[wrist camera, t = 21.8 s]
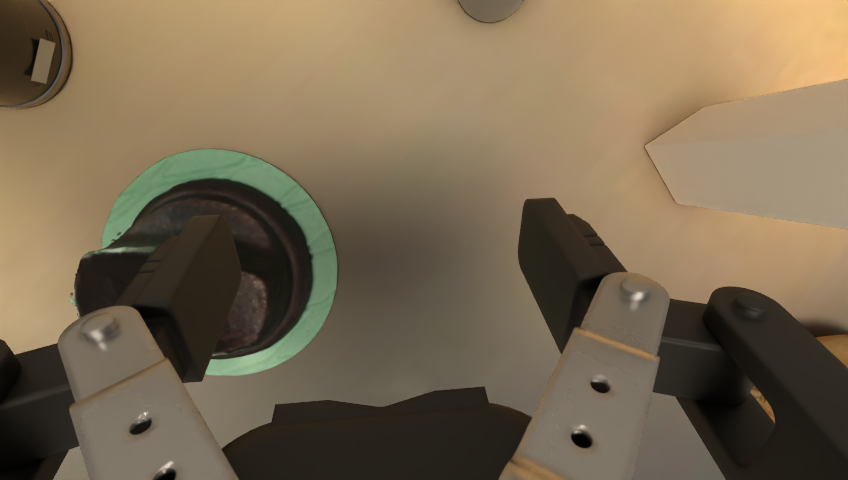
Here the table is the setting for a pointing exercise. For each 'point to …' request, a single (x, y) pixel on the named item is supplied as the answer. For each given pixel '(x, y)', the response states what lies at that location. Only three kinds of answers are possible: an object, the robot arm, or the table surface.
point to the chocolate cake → (255, 243)
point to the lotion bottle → (490, 9)
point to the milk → (763, 156)
